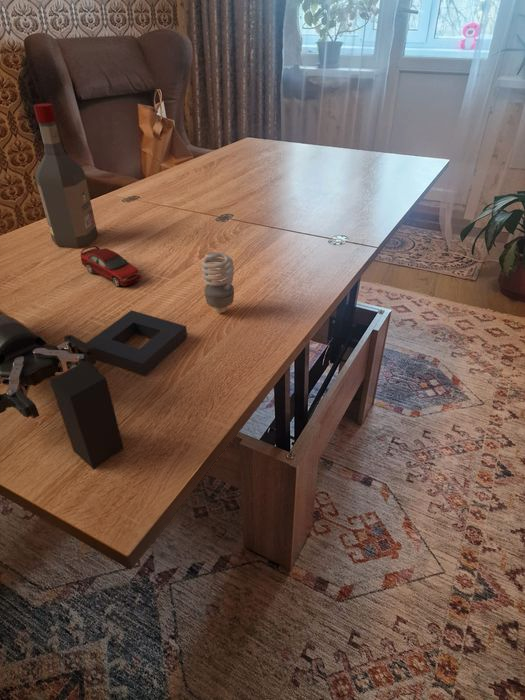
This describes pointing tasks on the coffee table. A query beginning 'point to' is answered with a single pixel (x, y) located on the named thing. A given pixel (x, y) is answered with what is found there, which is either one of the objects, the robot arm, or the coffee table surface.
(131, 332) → the base pad
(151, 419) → the coffee table surface
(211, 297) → the light bulb
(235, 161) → the coffee table surface
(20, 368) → the robot arm
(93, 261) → the toy car
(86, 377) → the post
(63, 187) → the liquor
